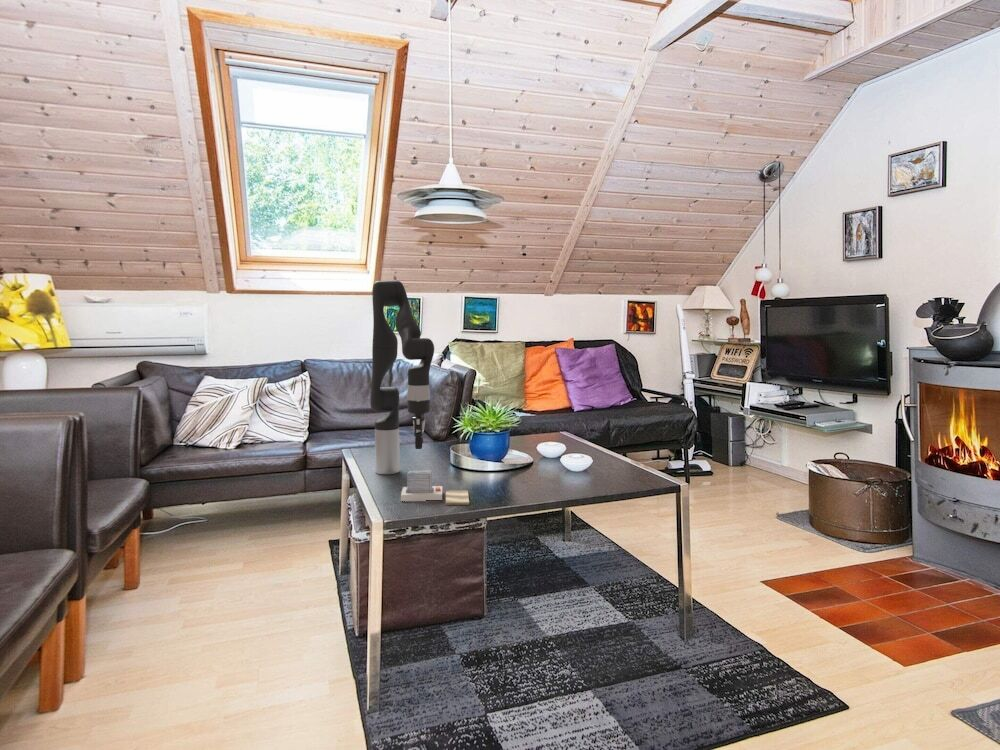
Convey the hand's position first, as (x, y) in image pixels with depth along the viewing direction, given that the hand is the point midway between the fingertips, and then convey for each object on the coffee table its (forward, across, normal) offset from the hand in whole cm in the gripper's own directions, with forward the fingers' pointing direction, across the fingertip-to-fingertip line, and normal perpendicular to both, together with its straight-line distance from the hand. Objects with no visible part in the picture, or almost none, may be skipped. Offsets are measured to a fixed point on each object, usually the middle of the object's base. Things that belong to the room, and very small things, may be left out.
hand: (419, 446), depth 217 cm
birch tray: (+18, +3, +12) cm, 22 cm away
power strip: (+17, -4, +1) cm, 18 cm away
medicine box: (+18, 0, 0) cm, 18 cm away
